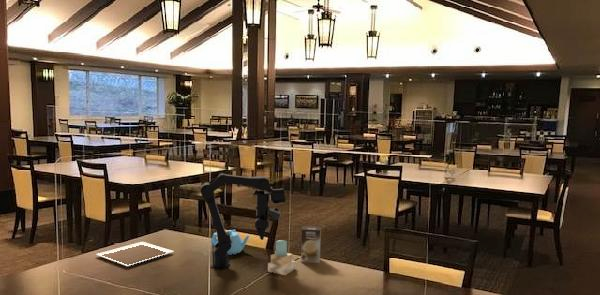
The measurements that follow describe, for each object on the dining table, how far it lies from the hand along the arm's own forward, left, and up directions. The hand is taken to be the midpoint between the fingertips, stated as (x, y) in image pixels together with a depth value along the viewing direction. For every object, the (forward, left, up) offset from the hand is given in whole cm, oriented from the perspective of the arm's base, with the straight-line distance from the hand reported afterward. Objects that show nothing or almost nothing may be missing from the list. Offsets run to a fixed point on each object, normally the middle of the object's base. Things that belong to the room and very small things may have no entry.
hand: (262, 236), depth 209 cm
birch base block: (+12, -3, -13) cm, 18 cm away
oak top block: (+12, -2, -9) cm, 15 cm away
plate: (-60, -20, -14) cm, 65 cm away
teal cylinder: (+12, -3, -6) cm, 13 cm away
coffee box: (+18, +15, -13) cm, 27 cm away
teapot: (-24, +8, -13) cm, 29 cm away
